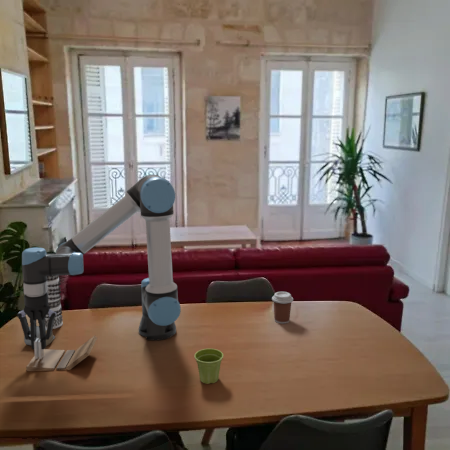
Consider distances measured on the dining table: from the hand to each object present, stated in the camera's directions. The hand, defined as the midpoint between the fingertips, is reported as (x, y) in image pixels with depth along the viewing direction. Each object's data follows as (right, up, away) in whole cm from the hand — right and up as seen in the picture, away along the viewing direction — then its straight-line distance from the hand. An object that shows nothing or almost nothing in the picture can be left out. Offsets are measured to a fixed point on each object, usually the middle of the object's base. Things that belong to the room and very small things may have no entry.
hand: (39, 357), depth 157 cm
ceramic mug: (-6, 0, +16) cm, 17 cm away
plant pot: (+60, -5, -9) cm, 61 cm away
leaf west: (+15, +1, +1) cm, 15 cm away
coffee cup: (+90, +5, +38) cm, 98 cm away
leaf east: (+2, -2, +1) cm, 3 cm away
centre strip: (+9, -3, +1) cm, 9 cm away
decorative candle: (-8, +4, +33) cm, 34 cm away
